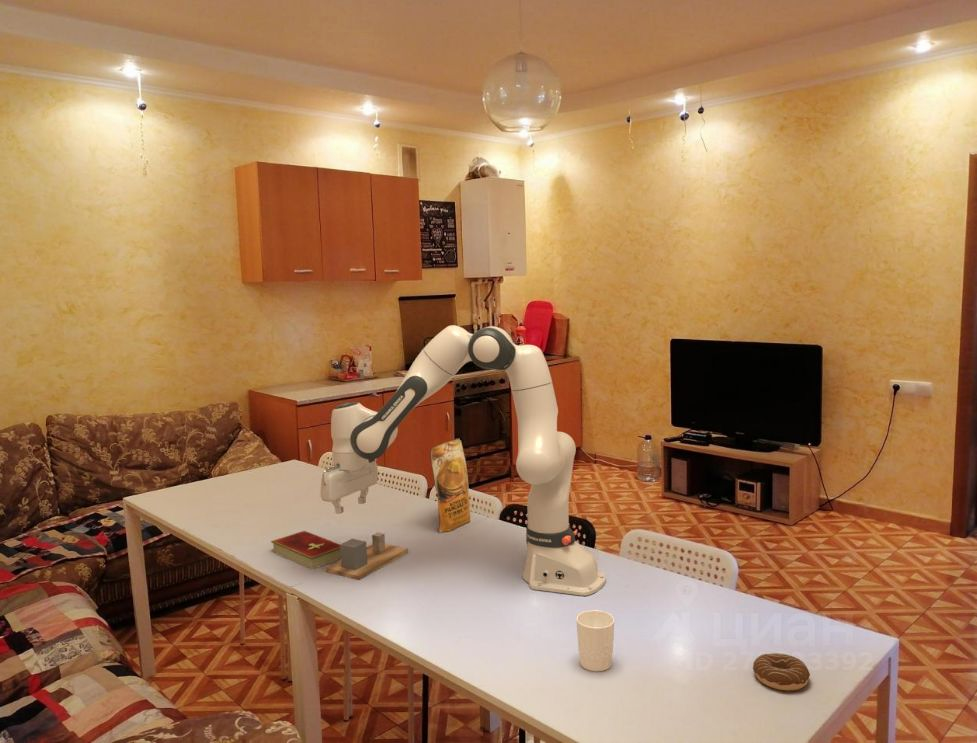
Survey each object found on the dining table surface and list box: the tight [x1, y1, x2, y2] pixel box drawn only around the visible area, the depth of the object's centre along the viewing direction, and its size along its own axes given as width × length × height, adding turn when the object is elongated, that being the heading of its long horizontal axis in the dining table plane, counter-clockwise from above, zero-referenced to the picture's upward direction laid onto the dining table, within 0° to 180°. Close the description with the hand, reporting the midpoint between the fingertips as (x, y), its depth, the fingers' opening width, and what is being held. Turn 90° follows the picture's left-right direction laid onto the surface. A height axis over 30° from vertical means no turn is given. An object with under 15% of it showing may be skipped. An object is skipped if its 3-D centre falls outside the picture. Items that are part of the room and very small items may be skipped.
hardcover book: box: [270, 530, 341, 570], centre depth 217 cm, size 12×21×4 cm, turn 48°
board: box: [326, 543, 409, 581], centre depth 210 cm, size 12×22×1 cm, turn 149°
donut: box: [752, 652, 811, 692], centre depth 145 cm, size 11×11×4 cm
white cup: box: [576, 609, 615, 672], centre depth 153 cm, size 8×8×10 cm
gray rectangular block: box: [339, 538, 368, 570], centre depth 205 cm, size 5×5×7 cm
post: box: [371, 532, 386, 554], centre depth 214 cm, size 3×3×6 cm
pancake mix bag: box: [429, 437, 471, 534], centre depth 237 cm, size 7×19×28 cm, turn 144°
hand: (351, 508), depth 203 cm, fingers open, 8 cm apart
